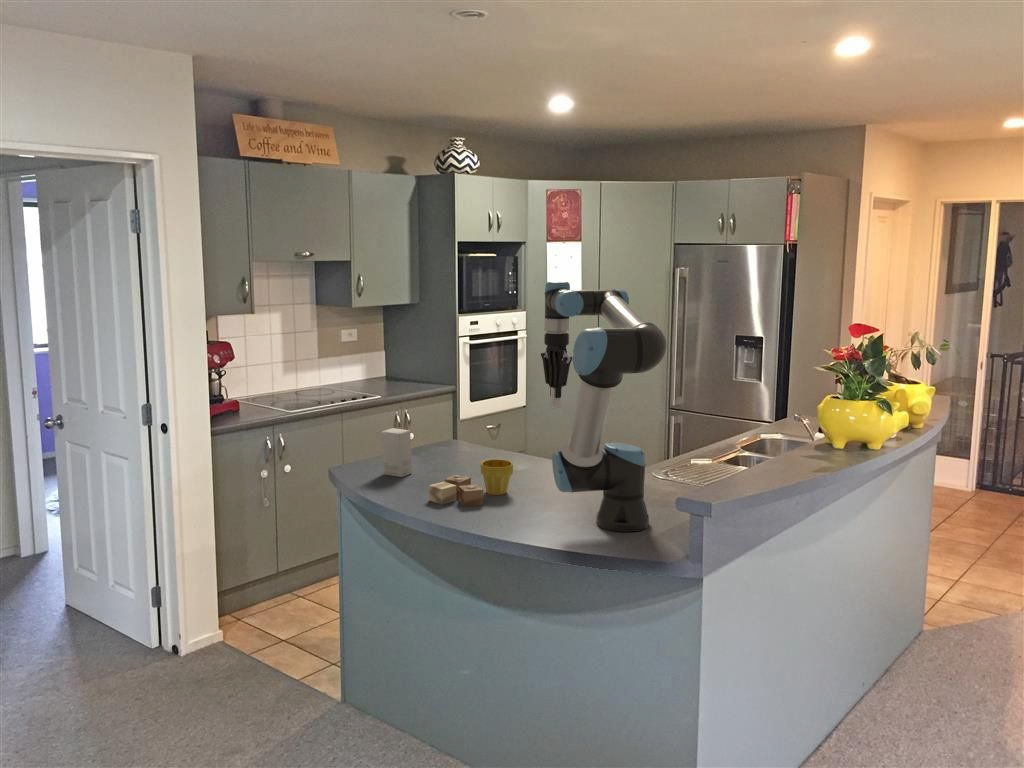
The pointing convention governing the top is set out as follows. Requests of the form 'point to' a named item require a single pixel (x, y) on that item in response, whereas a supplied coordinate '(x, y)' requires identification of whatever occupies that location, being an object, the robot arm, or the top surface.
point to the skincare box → (396, 452)
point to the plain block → (442, 492)
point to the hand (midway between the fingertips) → (555, 407)
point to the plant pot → (496, 475)
